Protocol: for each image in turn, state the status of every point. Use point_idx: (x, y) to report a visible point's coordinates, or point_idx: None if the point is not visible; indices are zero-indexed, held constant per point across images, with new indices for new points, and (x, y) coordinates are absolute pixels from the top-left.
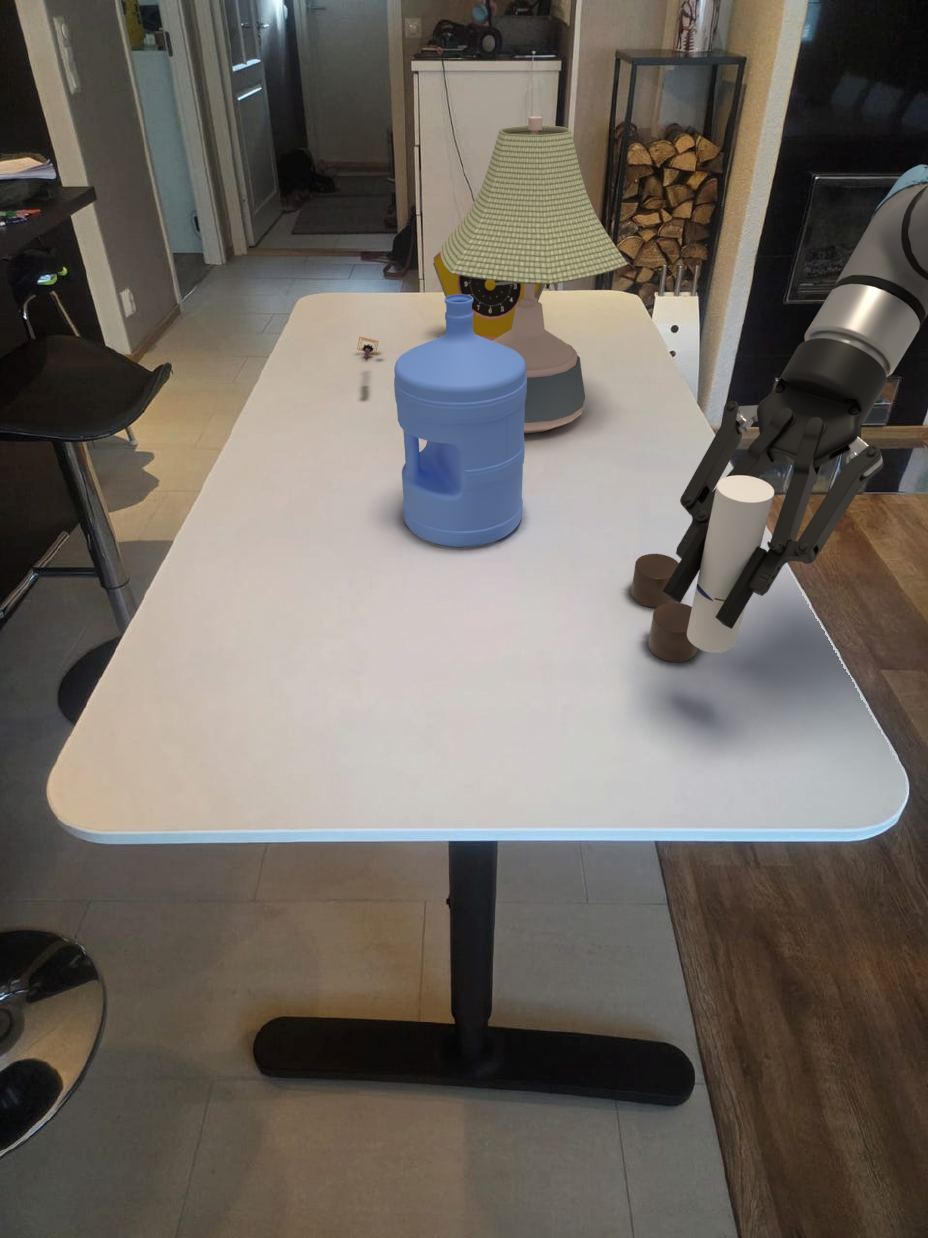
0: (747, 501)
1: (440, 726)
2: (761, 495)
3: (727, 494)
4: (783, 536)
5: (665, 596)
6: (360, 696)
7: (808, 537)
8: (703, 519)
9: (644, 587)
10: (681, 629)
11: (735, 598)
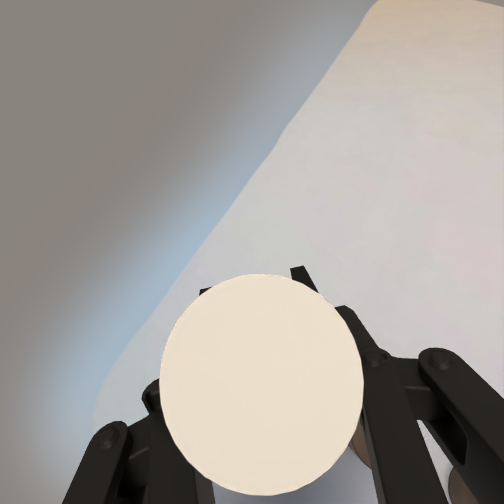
0: (194, 307)
1: (368, 169)
2: (192, 382)
3: (263, 287)
4: (161, 433)
5: (458, 490)
6: (430, 134)
7: (98, 468)
8: None
9: None
10: (359, 417)
11: None
